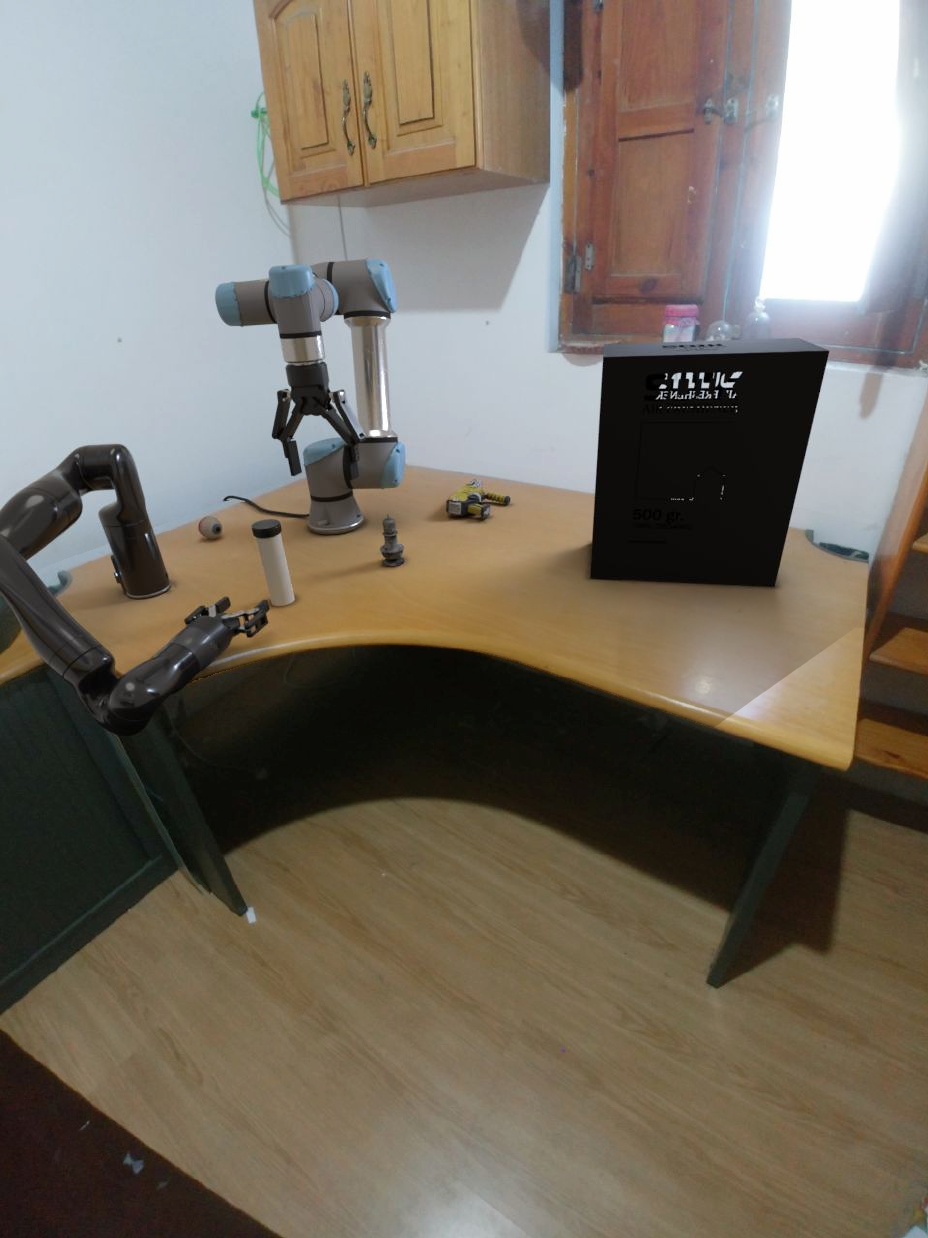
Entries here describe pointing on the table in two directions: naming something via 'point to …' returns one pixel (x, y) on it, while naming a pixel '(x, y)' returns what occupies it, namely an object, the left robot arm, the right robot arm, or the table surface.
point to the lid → (266, 528)
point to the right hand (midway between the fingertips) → (324, 476)
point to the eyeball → (210, 527)
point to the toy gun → (473, 500)
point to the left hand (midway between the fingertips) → (247, 602)
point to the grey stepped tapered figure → (391, 544)
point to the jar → (276, 570)
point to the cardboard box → (701, 458)
